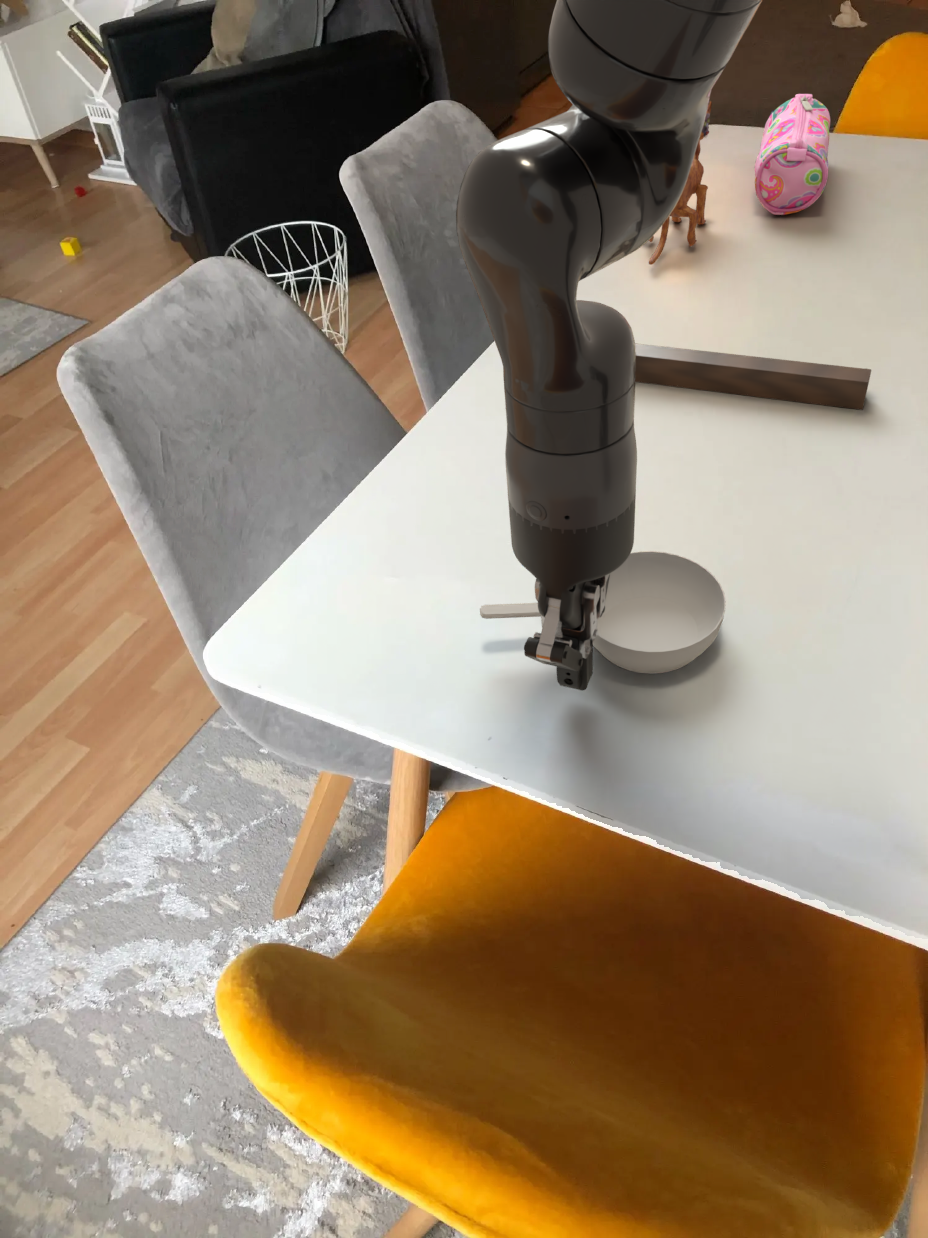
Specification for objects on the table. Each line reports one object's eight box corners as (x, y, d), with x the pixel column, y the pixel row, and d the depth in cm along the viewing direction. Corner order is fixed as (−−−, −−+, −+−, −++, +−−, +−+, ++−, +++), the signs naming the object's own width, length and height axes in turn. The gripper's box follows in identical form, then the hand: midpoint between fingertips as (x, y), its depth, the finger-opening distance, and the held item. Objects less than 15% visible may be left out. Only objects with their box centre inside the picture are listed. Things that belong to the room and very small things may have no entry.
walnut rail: (865, 396, 93) (871, 369, 90) (862, 410, 91) (868, 382, 89) (568, 361, 102) (567, 335, 100) (560, 372, 101) (560, 346, 99)
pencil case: (760, 156, 137) (768, 87, 131) (828, 157, 135) (839, 86, 129) (746, 218, 123) (754, 144, 117) (821, 220, 121) (833, 145, 114)
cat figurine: (676, 277, 114) (684, 156, 104) (623, 270, 116) (626, 151, 107) (720, 215, 125) (731, 101, 115) (671, 210, 127) (677, 98, 118)
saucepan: (735, 678, 69) (741, 641, 66) (486, 698, 70) (482, 663, 67) (705, 578, 77) (709, 541, 74) (481, 597, 78) (477, 562, 75)
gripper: (601, 569, 51) (600, 765, 63) (661, 431, 59) (649, 628, 71) (470, 544, 53) (493, 738, 65) (545, 415, 62) (553, 608, 74)
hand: (575, 680), depth 68 cm, fingers closed
